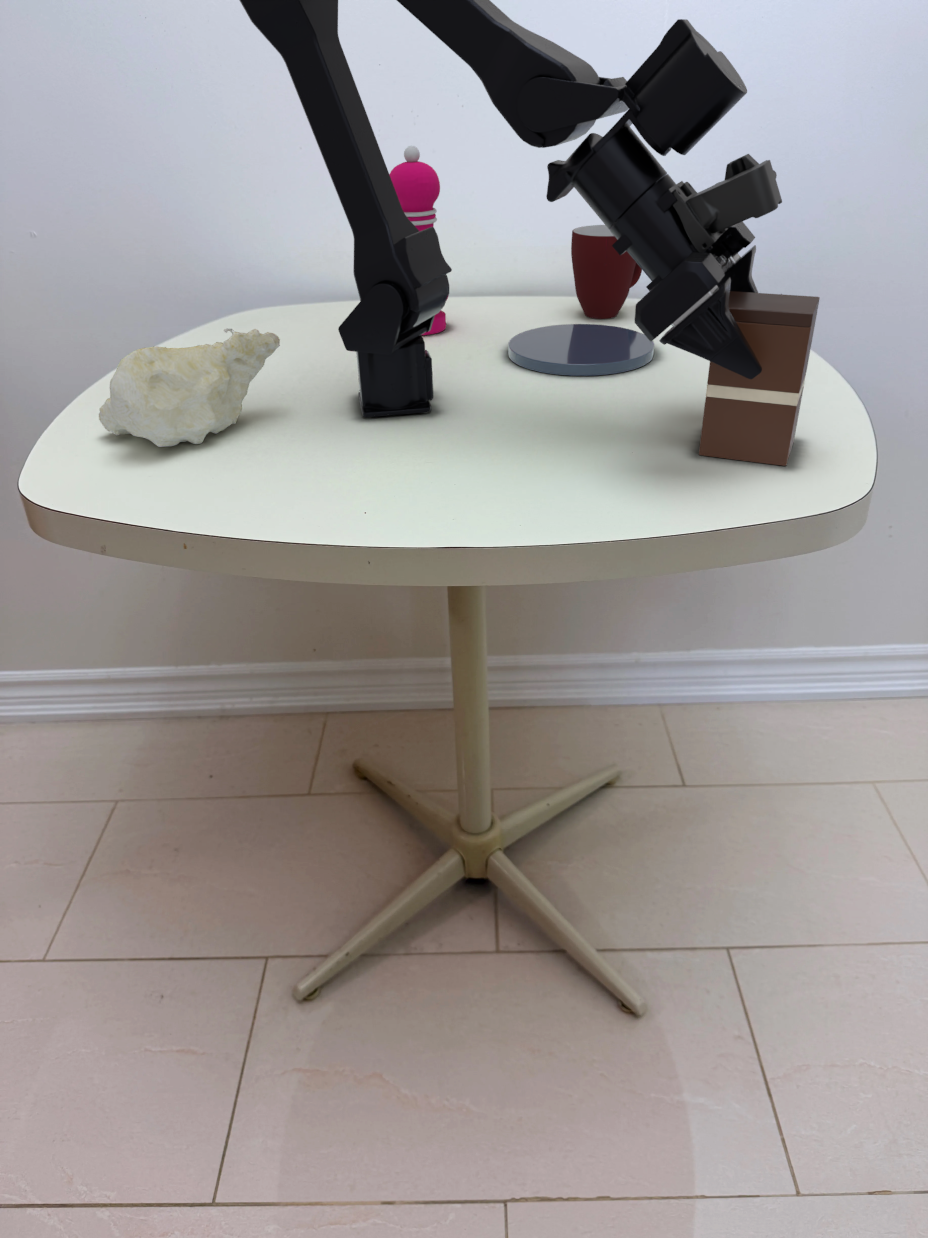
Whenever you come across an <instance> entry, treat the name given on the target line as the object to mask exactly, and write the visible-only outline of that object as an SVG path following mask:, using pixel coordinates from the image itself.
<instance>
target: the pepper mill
mask: <svg viewBox="0 0 928 1238" xmlns="http://www.w3.org/2000/svg"><path fill="white" fill-rule="evenodd" d="M420 153H421V152H420V150H419V148H418V147H416V146H415V145H408V146H407V147H405V148H404V151H403V157H404V159H405V161H404V162H401V163H398V164H396V166H393V168H392V169H391V171H390V172H389V175H390V178H391V180H392V183H393V186H394V188H395V191H396V194H397V196H398V199H399V202H400V204H401V207H402V210H403V212H404V213H405V215H406V217H407V218H408V219H409V220H410V221H411V222H412V224H413V225H414V226H415V227H416V228H417V229H418V230H419V231H422V230H425V229H427V228H430V227H434V223H436V222H437V221H438V218H437V215H436V213H437V209H436V208H435V207H434V205H435V202H436V201H437V200H438V198H439V196H440V192H441V183H440V178H439V176H438V173H437V172H436V170H435V169H434V168H433V167H432V166H431V165H429V164H428V163H427V162H426V163H425V162H422V161H419V160H420V157H421V154H420ZM449 296H450V294H449V295H448V297H447V300H446V302H447V301H448V299H449ZM446 314H447V313H446V312H445V311H444V310H442V309H441V311H440V312H439V313H438V314H436V315H435V317H434V320H433V324H432V327H431V330H430V331H429V332H425V333H424V334H422V335H421V336H429V335H435V334H438V333H441V332H443V331H445V330H446V327H447V316H446Z"/></svg>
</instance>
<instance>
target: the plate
mask: <svg viewBox="0 0 928 1238" xmlns="http://www.w3.org/2000/svg"><path fill="white" fill-rule="evenodd" d="M507 345H508V346H507V347H508V349H507V352H508V353H507V354H508V358H509V360H511V362H513V363H514V364H515V365H518V366H519V367H522V368H524V369H527V370H531V371H534V372H538V373H542V374H548V375H556V376H557V375H558V376H572V377H592V376H606V375H614V374H615V375H616V374H622V373H625V372H629V371H632V370H636V369H639V368H641V367H644V366H645V365H648V364H649V363H650V362H651V361H652V360H653V358H654V355H655V342H654V340H653V341H651V342H650V341H649V339H648V338H647V337H646V336H645V335H644V333H643V332H640V331H637V330H633V329H630V328H626V327H620V326H615V325H606V324H595V323H592V324H591V323H566V324H553V325H545V326H541V327H535V328H531V329H528V330H525V331H522V332H519V333H517V334H516V335H514V336H512V337H511V338H510V339H509V341H508V344H507Z"/></svg>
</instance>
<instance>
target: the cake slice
mask: <svg viewBox="0 0 928 1238" xmlns="http://www.w3.org/2000/svg"><path fill="white" fill-rule="evenodd" d="M820 299H821V298H820V296H812V295H799V294H798V295H797V294H796V295H795V294H782V293H781V294H779V293H767V292H766V293H765V292H758V293H751V292H735V291H730V295H729V304H728V307H729V311H730V313H731V314H732V316H733V318H734V319H735V321H736V323H737V325H738V326H739V328H740V330H741V331H742V333H743V335H744V337H745V338H746V340H747V342H748V343H749V345H750V347H751V349H752V350H753V352H754V354H755V356H756V358H757V359H758V361H759V363H760V365H761V367H762V372H761V373H760V374H759V375H757V376H756V377H755V378H753V379H748V378H746V377H743V376H741V375H739V374H737V373H735V372H733V371H730V370H728V369H726V368H724V367H722V366H719V365H717V364H715V363H713V362H711V361H709V366H708V373H707V382H706V389H705V390H706V391H705V399H704V407H703V415H702V416H703V417H702V423H701V432H700V441H699V448H698V455H699V456H704V457H711V458H720V459H727V460H735V461H744V462H752V463H758V464H759V463H760V464H766V465H774V466H783V467H787V464H788V461H789V458H790V455H791V452H792V449H793V445H794V442H795V437H796V431H797V426H798V421H799V415H800V410H801V404H802V398H803V392H804V387H805V382H806V377H807V371H808V366H809V359H810V355H811V350H812V349H811V348H812V343H813V337H814V333H815V327H816V323H817V315H818V309H819V305H820Z"/></svg>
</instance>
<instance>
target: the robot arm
mask: <svg viewBox="0 0 928 1238" xmlns="http://www.w3.org/2000/svg"><path fill="white" fill-rule="evenodd" d="M239 2H240V4H241V6H242V8H243V9H244V11H245V13H246V14H247V16H248V18H249V20H250V22H251V23H252V25H254V27H256V29H257V30H258V31H259V32H260V34H261V35H263V37H264V38H265V39H266V40H267V41H268V42H269V43H270V44H271V46H272V47H273V49H275V50H276V52H277V53H278V54H279V55H280V57H281V58H282V60H283V62H284V63H285V66H286V69H287V71H288V73H289V76H290V79H291V81H292V84H293V86H294V88H295V89H294V90H295V91H296V93H297V97H298V99H299V101H300V103H301V107H302V109H303V112H304V113H305V116H306V119H307V121H308V124H309V127H310V129H311V131H312V134H313V136H314V139H315V142H316V144H317V146H318V149H319V151H320V154H321V156H322V159H323V162H324V164H325V167H326V169H327V172H328V174H329V177H330V179H331V181H332V184H333V186H334V189H335V192H336V194H337V196H338V200H339V202H340V204H341V207H342V210H343V212H344V214H345V217H346V220H347V222H348V224H349V227H350V229H351V233H352V236H353V278H354V281H355V285H356V290H357V293H358V297H359V302H358V304H357V305H356V306H355V307H354V308H353V310H351V312H350V313H349V314H348V316H346V318H345V319H344V320H343V321H342V323H341V324H340V325H339V326H338V333H339V336H340V338H341V341H342V343H343V346H344V348H345V350H346V351H349V352H354V353H356V364H357V375H358V385H359V387H358V388H359V391H358V393H357V395H358V396H357V397H358V402H359V406H360V411H361V416H362V417H363V418H374V417H387V416H389V417H390V416H399V415H401V416H402V415H412V414H424V413H431V411H432V405H431V403H430V401H432V400H433V399H434V380H433V379H434V378H433V359H432V356H431V354H430V352H429V351H428V350H427V349H426V342H425V340H424V338H423V335H422V334H424V333H425V332H429V331H430V330H431V327H432V324H433V320H434V317H435V315H436V314H438V313H439V312H440V311H441V310H442V309H443V308H444V307H445V305H446V303H447V301H448V299H447V297H448V298H449V296H450V282H449V277H448V275H447V274H449V273H451V272H452V269H453V268H452V267H451V266H450V265H449V264H448V262H447V261H446V259H445V257H444V255H443V252H442V249H441V244H440V240H439V235H438V233H437V231H436V228H435V227H434V226H433V227H430V228H427V229H425V230H422V231H419V230H418V229H417V228H416V227H415V226H414V225H413V224H412V222H411V221H410V220H409V219H408V218H407V217H406V215H405V213H404V212H403V210H402V207H401V204H400V202H399V199H398V196H397V194H396V191H395V188H394V186H393V183H392V180H391V178H390V175H389V174H390V172H389V170H388V167H387V165H386V162H385V159H384V155H383V154H382V151H381V148H380V145H379V143H378V141H377V138H376V135H375V131H374V130H373V127H372V124H371V121H370V119H369V117H368V114H367V110H366V109H365V105H364V103H363V100H362V98H361V95H360V92H359V89H358V87H357V84H356V82H355V79H354V76H353V73H352V71H351V68H350V66H349V63H348V61H347V60H348V59H347V57H346V55H345V52H344V49H343V47H342V44H341V41H340V37H339V0H239ZM396 2H397V3H399V4H400V5H401V6H402V7H403V8H404V9H406V11H408V12H409V13H410V14H411V15H412V16H413V17H415V19H416V20H417V21H419V22H420V23H421V24H422V25H423V26H424V27H426V29H428V30H429V31H430V32H431V33H432V34H433V35H434V36H435V37H436V38H437V39H439V40H440V41H441V42H442V43H443V44H444V45H445V46H446V47H448V48H449V49H450V50H451V51H452V52H453V53H454V54H455V55H456V56H458V57H459V58H460V59H461V60H462V61H463V62H464V63H465V64H467V65H468V66H469V67H470V68H471V69H472V71H473V72H474V73H475V75H476V76H477V77H478V79H479V80H480V81H481V83H482V85H483V87H484V89H485V92H486V93H487V95H488V97H489V99H490V102H491V103H492V105H493V106H494V107H495V108H496V110H497V111H498V112H499V114H500V115H501V116H502V117H503V118H504V120H505V121H506V123H507V124H508V125H509V126H510V127H511V129H512V130H513V132H514V133H515V134H516V135H517V137H519V139H521V140H522V141H523V142H524V143H526V145H527V144H528V145H529V146H530V147H535V148H538V149H545V148H552V147H557V146H560V145H563V144H565V143H566V144H567V143H569V142H572V141H575V140H577V139H579V138H582V137H583V136H585V135H586V134H587V133H588V132H589V131H590V130H591V129H592V127H593V126H594V125H595V123H596V122H597V120H600V119H603V118H607V117H610V116H615V115H618V114H622V113H624V114H623V115H622V116H621V117H620V118H619V119H618V121H617V122H616V123H615V124H614V125H613V126H611V128H610V129H609V130H608V131H607V132H606V133H605V134H604V135H603V136H602V135H600V134H599V133H595V132H590V133H589V134H588V135H587V136H586V137H585V139H584V140H582V142H581V143H580V144H579V145H578V146H577V147H576V149H575V150H574V151H573V152H572V153H571V154H570V155H569V156H568V158H566V160H561V159H556V160H554V161H551V162H549V163H548V164H547V165H546V169H547V172H548V181H547V188H546V189H547V190H546V195H545V196H546V200H547V201H548V202H549V203H554V202H555V201H558V200H560V199H562V198H564V197H566V196H567V195H568V194H569V193H570V192H571V191H572V190H573V189H575V190H576V191H577V192H578V194H579V195H580V196H581V197H582V199H583V200H584V201H585V202H586V204H587V205H588V206H589V207H590V208H591V209H592V211H593V212H594V213H595V215H596V216H597V217H598V218H599V219H600V220H601V222H602V223H603V225H606V226H607V228H608V229H609V230H610V231H611V233H612V234H613V235H614V236H615V237H616V239H617V241H616V242H615V243H614V244H613V245H612V247H613V248H614V249H615V250H616V251H617V253H618V254H619V255H622V254H623V253H624V252H626V251H627V252H628V253H629V254H630V256H631V257H632V258H633V259H634V260H635V262H636V263H637V264H638V265H639V266H640V268H641V269H642V272H644V274H645V275H646V276H647V278H648V279H649V280H650V282H649V283H648V284H647V285H646V286H645V287H646V289H647V290H648V292H647V293H646V294H645V295H644V296H643V297H642V298H640V300H638V301H637V303H635V310H634V324H635V325H636V327H637V328H638V329H639V330H640V331H641V333H642V334H644V335H645V336H646V337H647V338H648V339H649V341H650V342H651V341H653V342H654V340H656V339H657V337H659V336H660V335H661V334H662V333H664V331H666V330H667V329H668V328H669V327H670V326H671V328H669V329H668V330H667V331H666V332H665V333H664V334H663V336H661V338H660V339H659V342H660V343H661V344H662V345H665V346H666V345H670V346H672V347H675V348H677V349H680V350H682V351H684V352H687V353H690V354H692V355H695V356H697V357H699V358H702V359H704V360H706V361H708V362H710V361H711V362H713V363H715V364H717V365H719V366H722V367H724V368H726V369H728V370H730V371H733V372H735V373H737V374H739V375H741V376H743V377H746V378H748V379H753V378H755V377H756V376H757V375H759V374H760V373H761V372H762V367H761V365H760V363H759V361H758V359H757V358H756V356H755V354H754V352H753V350H752V349H751V347H750V345H749V343H748V342H747V340H746V338H745V337H744V335H743V333H742V331H741V330H740V328H739V326H738V325H737V323H736V321H735V319H734V318H733V316H732V314H731V313H730V311H729V307H728V304H729V295H730V291H735V292H751V293H759V290H758V288H757V286H756V284H755V281H754V278H753V267H754V261H755V255H756V252H757V246H756V245H757V244H754V245H753V246H752V247H750V248H749V249H748V250H746V252H745V253H744V254H742V255H740V254H739V252H741V251H742V250H743V249H746V248H747V247H748V246H750V245H751V243H753V241H754V240H755V238H756V236H755V234H753V232H752V231H751V230H750V228H749V227H748V226H747V225H746V224H745V223H744V221H747V220H749V219H753V218H754V219H759V218H761V217H763V216H766V215H768V214H770V213H772V212H774V211H775V210H777V209H778V208H779V205H780V204H782V203H783V199H782V196H781V193H780V192H781V191H780V189H779V185H778V182H777V172H776V171H775V170H774V169H773V165H772V162H771V160H770V159H766V160H764V161H762V162H760V163H759V162H758V161H757V160H756V159H755V158H754V157H752V155H751V154H750V153H746V154H745V155H743V156H740V157H739V158H736V159H733V160H731V161H730V162H728V163H727V164H726V167H725V172H724V173H725V175H724V180H721V181H719V182H716V183H715V184H713V185H711V186H708V187H707V188H705V189H702V190H701V191H697V190H696V189H695V188H694V187H693V185H692V184H691V183H690V182H688V181H685V182H684V181H683V180H681V181H679V182H678V183H676V182H675V180H674V179H673V178H672V177H671V176H670V175H669V173H668V171H666V170H665V169H664V167H663V166H662V164H661V163H660V162H659V161H658V160H657V158H656V157H655V156H654V154H652V152H651V151H650V150H649V148H648V147H647V146H646V145H645V143H647V145H648V146H649V147H650V148H651V149H652V150H653V151H655V152H656V153H657V154H659V155H660V156H662V157H666V156H667V155H668V154H669V153H670V152H671V150H673V151H675V152H676V153H677V154H679V155H682V156H686V155H687V154H688V153H689V152H690V151H691V150H692V149H693V148H694V147H695V146H696V145H698V143H699V142H700V141H701V140H702V139H703V138H704V137H705V136H706V135H707V134H708V133H709V132H710V131H711V130H712V129H713V128H714V127H715V126H716V125H717V124H718V123H719V122H720V121H721V120H722V119H723V118H724V117H725V116H726V115H727V114H728V113H729V112H730V111H731V110H732V109H733V107H735V106H736V105H737V104H738V103H739V102H740V101H741V99H743V97H745V95H747V93H748V89H747V86H746V84H745V82H744V80H743V79H742V77H741V75H740V74H739V72H738V71H737V69H736V68H735V67H734V65H733V64H732V63H731V61H730V60H729V58H728V57H727V56H726V55H725V54H724V52H723V51H718V50H717V49H716V48H715V47H714V46H713V45H712V44H711V43H710V41H708V40H707V38H705V37H704V36H703V35H702V34H701V33H700V32H698V31H697V30H696V29H695V27H694V25H692V23H691V22H690V21H689V20H688V19H686V18H685V19H683V18H680V19H679V18H678V19H676V21H675V22H674V23H673V24H672V25H671V27H670V28H669V29H668V30H667V31H666V33H664V35H663V37H662V40H660V43H659V44H658V46H656V48H655V49H654V50H653V51H652V53H650V55H649V56H647V58H646V59H645V60H644V61H643V62H642V64H641V65H640V66H639V67H638V68H637V70H636V71H635V72H634V73H633V74H632V75H631V76H630V77H629V79H628V80H627V79H626V78H625V77H624V76H620V77H614V78H612V77H611V78H610V77H604V76H603V77H602V76H599V74H598V73H597V71H596V70H595V68H594V67H593V66H592V65H591V64H590V63H589V62H587V61H586V60H584V59H582V58H581V57H579V56H577V55H576V54H574V53H573V52H571V51H569V50H568V49H566V48H564V47H563V46H561V45H559V44H558V43H556V42H554V41H552V40H550V39H548V38H545V37H544V36H541V35H539V34H538V33H535V32H533V31H531V30H529V29H527V28H525V27H523V26H522V25H521V24H519V23H517V22H515V21H514V20H512V19H511V18H510V17H509V16H508V15H507V14H506V13H504V12H503V11H502V10H501V9H500V8H499V7H498V6H497V5H495V4H494V2H492V1H491V0H396ZM632 125H633V126H634V128H635V129H636V131H637V132H638V134H639V135H640V136H641V138H642V140H644V141H645V143H644V142H643V141H642V140H641V139H640V137H639V136H638V135H637V134H636V133H635V131H634V130H633V128H632V127H631V126H632ZM448 295H449V296H448ZM446 300H447V301H446Z"/></svg>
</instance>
